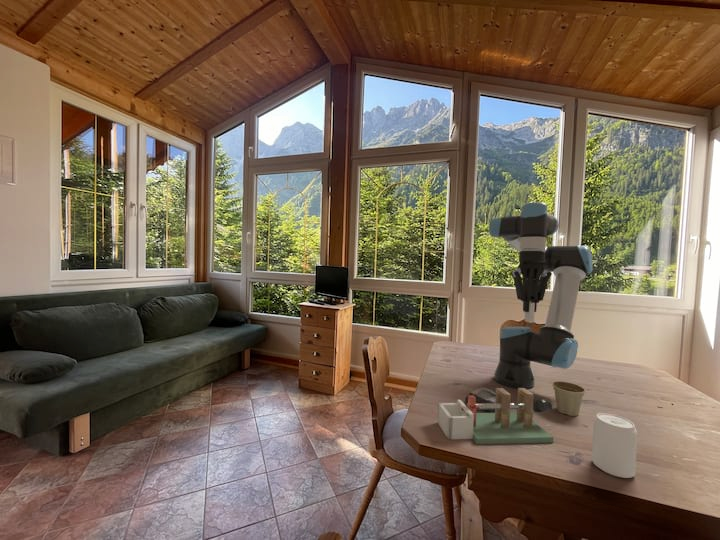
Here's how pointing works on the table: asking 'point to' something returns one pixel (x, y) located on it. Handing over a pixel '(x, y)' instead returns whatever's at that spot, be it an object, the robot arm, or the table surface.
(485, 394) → the rock
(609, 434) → the beverage can
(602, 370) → the table surface
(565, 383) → the flower pot
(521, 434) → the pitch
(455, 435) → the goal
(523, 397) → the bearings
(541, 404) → the rod
